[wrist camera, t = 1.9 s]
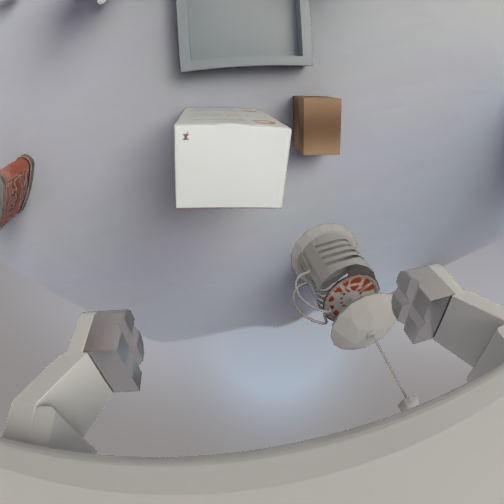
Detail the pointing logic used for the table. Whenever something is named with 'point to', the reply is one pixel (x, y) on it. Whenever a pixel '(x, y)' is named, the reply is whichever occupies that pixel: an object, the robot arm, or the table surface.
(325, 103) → the walnut block
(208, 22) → the slate tray
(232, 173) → the small box
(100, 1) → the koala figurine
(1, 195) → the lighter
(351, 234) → the french press
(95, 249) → the table surface
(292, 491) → the robot arm
